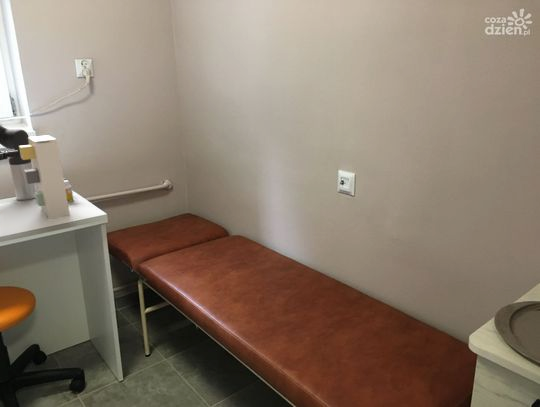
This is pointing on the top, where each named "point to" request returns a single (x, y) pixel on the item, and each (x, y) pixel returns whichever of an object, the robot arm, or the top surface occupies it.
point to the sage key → (39, 198)
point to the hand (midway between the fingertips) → (18, 153)
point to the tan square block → (27, 152)
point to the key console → (50, 176)
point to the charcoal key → (32, 176)
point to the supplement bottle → (68, 191)
